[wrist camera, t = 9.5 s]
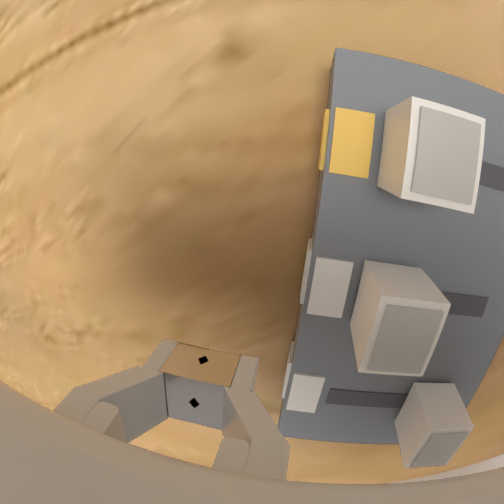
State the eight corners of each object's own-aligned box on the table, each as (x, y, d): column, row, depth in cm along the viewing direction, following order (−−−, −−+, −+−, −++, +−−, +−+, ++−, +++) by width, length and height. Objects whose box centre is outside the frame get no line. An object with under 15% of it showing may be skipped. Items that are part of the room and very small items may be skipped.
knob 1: (444, 125, 12) (488, 118, 8) (435, 197, 13) (476, 215, 9) (385, 110, 12) (413, 95, 8) (376, 185, 13) (402, 199, 10)
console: (515, 120, 14) (552, 117, 10) (432, 408, 21) (444, 444, 17) (327, 68, 16) (331, 45, 12) (279, 397, 23) (273, 437, 19)
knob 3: (454, 383, 16) (475, 429, 12) (432, 421, 17) (446, 467, 13) (413, 382, 16) (430, 432, 12) (394, 421, 17) (403, 470, 13)
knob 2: (421, 268, 14) (452, 306, 10) (402, 329, 15) (423, 379, 11) (364, 259, 15) (382, 297, 11) (349, 324, 16) (358, 375, 12)
